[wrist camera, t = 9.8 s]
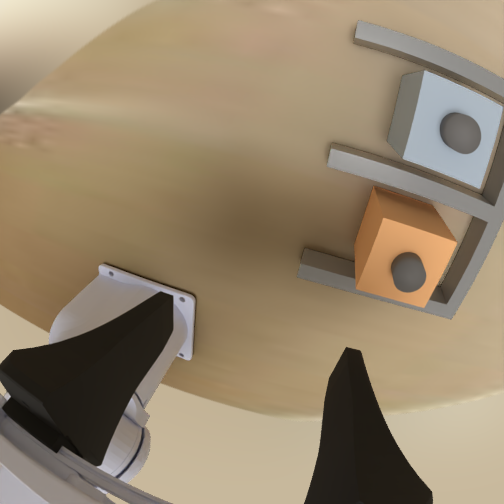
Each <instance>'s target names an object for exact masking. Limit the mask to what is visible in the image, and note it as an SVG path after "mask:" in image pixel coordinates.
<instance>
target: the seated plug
mask: <svg viewBox="0 0 504 504" xmlns="http://www.w3.org/2000/svg"><path fill="white" fill-rule="evenodd" d="M502 111H503V107H502V106H501V105H499V104H497V103H495V102H493V101H491V100H489V99H487V98H485V97H484V96H482V95H480V94H478V93H476V92H473V91H471V90H469V89H467V88H465V87H463V86H461V85H459V84H456V83H454V82H452V81H450V80H447V79H445V78H442V77H440V76H438V75H435V74H433V73H430V72H428V71H425V70H424V71H419V72H415V73H411V74H406V75H402V79H401V84H400V89H399V93H398V98H397V102H396V106H395V110H394V115H393V119H392V123H391V127H390V131H389V134H388V138H387V142H388V143H389V144H390V145H391V146H392V147H393V148H394V150H395V151H396V152H397V153H398V154H399V155H400V156H401V158H402V159H404V160H407V161H410V162H413V163H416V164H419V165H421V166H424V167H427V168H429V169H432V170H435V171H437V172H440V173H443V174H445V175H448V176H450V177H453V178H455V179H457V180H460V181H462V182H465V183H467V184H469V185H472V186H474V187H476V188H479V189H480V186H481V183H482V180H483V178H484V175H485V172H486V169H487V165H488V162H489V159H490V156H491V152H492V149H493V146H494V142H495V139H496V135H497V131H498V127H499V123H500V119H501V115H502Z"/></svg>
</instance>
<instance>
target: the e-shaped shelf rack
mask: <svg viewBox="0 0 504 504" xmlns="http://www.w3.org/2000/svg"><path fill="white" fill-rule="evenodd" d="M353 44H357V45H361V46H365V47H368V48H372V49H375V50H378V51H382V52H385V53H388V54H391V55H394V56H397V57H400V58H403V59H406V60H409V61H412V62H414V63H417V64H420V65H422V66H425V67H428V68H430V69H433V70H435V71H438V72H440V73H442V74H445V75H447V76H449V77H452V78H454V79H456V80H458V81H460V82H463V83H465V84H467V85H469V86H471V87H473V88H475V89H477V90H479V91H481V92H483V93H485V94H487V95H489V96H491V97H493V98H494V99H496V100H498V101H500V102H502V103H503V104H504V79H503V78H501V77H499V76H497V75H496V74H494V73H492V72H490V71H488V70H486V69H484V68H483V67H481V66H479V65H477V64H475V63H473V62H471V61H469V60H467V59H464V58H462V57H460V56H458V55H456V54H454V53H451V52H449V51H447V50H444V49H442V48H440V47H437V46H435V45H432V44H430V43H427V42H425V41H422V40H420V39H417V38H414V37H411V36H408V35H406V34H403V33H400V32H397V31H394V30H390V29H387V28H384V27H381V26H377V25H374V24H370V23H367V22H363V21H359V20H358V23H357V27H356V32H355V37H354V42H353ZM327 167H330V168H333V169H337V170H340V171H344V172H347V173H351V174H354V175H358V176H361V177H364V178H368V179H371V180H374V181H377V182H380V183H384V184H387V185H390V186H393V187H396V188H399V189H402V190H405V191H408V192H411V193H414V194H416V195H419V196H422V197H425V198H428V199H430V200H433V201H436V202H439V203H441V204H444V205H447V206H449V207H452V208H454V209H457V210H460V211H462V212H465V213H467V214H470V215H472V216H474V217H473V219H472V222H471V224H470V226H469V229H468V231H467V233H466V236H465V238H464V240H463V242H462V244H461V247H460V249H459V251H458V253H457V255H456V257H455V259H454V261H453V263H452V265H451V267H450V269H449V271H448V273H447V275H446V277H445V279H444V281H443V283H442V285H441V287H438V286H436V287H435V289H434V291H433V293H432V295H431V297H430V298H429V300H428V302H427V304H426V306H425V307H424V308H422V307H418V306H415V305H411V304H407V303H404V302H400V301H396V300H393V299H389V298H386V297H382V296H378V295H375V294H371V293H367V292H364V291H360V290H357V289H356V281H355V262H353V261H349V260H346V259H342V258H339V257H335V256H332V255H328V254H325V253H321V252H317V251H314V250H310V249H307V248H305V249H304V252H303V256H302V259H301V263H300V267H299V271H298V274H297V277H298V278H301V279H305V280H309V281H312V282H316V283H319V284H323V285H326V286H330V287H334V288H337V289H341V290H344V291H348V292H352V293H355V294H359V295H363V296H366V297H370V298H373V299H377V300H381V301H384V302H388V303H392V304H396V305H399V306H403V307H407V308H410V309H414V310H418V311H421V312H425V313H429V314H433V315H436V316H440V317H444V318H448V319H452V318H453V316H454V314H455V313H456V311H457V310H458V308H459V306H460V305H461V303H462V301H463V300H464V298H465V296H466V294H467V293H468V291H469V289H470V287H471V285H472V284H473V282H474V280H475V278H476V276H477V274H478V272H479V271H480V269H481V267H482V265H483V263H484V261H485V259H486V257H487V255H488V253H489V251H490V249H491V246H492V244H493V242H494V240H495V238H496V236H497V233H498V231H499V229H500V227H501V224H502V222H503V220H504V127H503V130H502V134H501V138H500V141H499V145H498V148H497V152H496V155H495V158H494V162H493V165H492V168H491V171H490V174H489V177H488V180H487V183H486V185H485V188H484V191H483V194H482V195H481V194H478V193H476V192H474V191H471V190H469V189H467V188H464V187H462V186H460V185H457V184H455V183H452V182H450V181H447V180H445V179H442V178H440V177H437V176H434V175H432V174H429V173H426V172H424V171H421V170H418V169H415V168H413V167H410V166H407V165H404V164H401V163H398V162H395V161H392V160H389V159H386V158H383V157H380V156H377V155H374V154H370V153H367V152H364V151H360V150H357V149H354V148H350V147H347V146H343V145H339V144H336V143H332V145H331V149H330V153H329V157H328V162H327Z"/></svg>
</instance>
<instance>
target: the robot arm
mask: <svg viewBox="0 0 504 504" xmlns="http://www.w3.org/2000/svg"><path fill="white" fill-rule="evenodd" d="M112 272H113V273H112ZM182 297H183V298H184V299H183V298H182ZM195 303H196V300H195V298H194V296H192V295H191V294H188V293H185V292H182V291H179V290H176V289H173V288H170V287H167V286H164V285H161V284H158V283H156V282H153V281H150V280H147V279H144V278H141V277H139V276H136V275H133V274H130V273H128V272H125V271H122V270H119V269H117V268H114V267H111V266H109V265H106V264H101V265H100V266H99V275H98V276H97V277H96V278H95V279H94V280H93V281H91V282H90V283H89V284H88V285H87V286H86V287H85V288H84V289H83V290H82V291H81V292H80V293H79V294H77V295H76V296H75V297H74V298H73V299H72V300H71V301H70V302H69V303H68V304H67V305H66V306H65V307H64V308H63V309H62V310H61V311H60V312H59V314H58V315H57V317H56V319H55V320H54V322H53V325H52V327H51V330H50V334H49V345H44V346H39V347H34V348H27V349H20V350H13V351H12V352H11V353H10V354H9V355H8V356H7V357H6V358H5V360H4V361H3V362H2V363H1V364H0V381H1V383H2V384H3V386H4V387H5V389H6V390H7V392H6V393H5V395H4V397H3V396H2V395H1V394H0V504H115V503H114V502H112V501H111V500H110V499H109V498H107V497H106V494H107V493H110V494H112V495H114V496H116V497H118V498H120V499H122V500H124V501H126V502H128V503H130V504H172V503H169V502H167V501H164V500H162V499H160V498H157V497H155V496H153V495H151V494H148V493H146V492H144V491H142V490H140V489H138V488H135V487H133V486H131V485H129V484H127V483H128V482H129V481H130V480H132V479H133V478H134V477H135V476H136V475H137V474H138V472H139V471H140V470H141V468H142V467H143V465H144V463H145V462H146V460H147V457H148V455H149V451H150V433H149V430H148V429H147V428H146V427H145V424H146V422H147V421H148V419H149V417H150V415H149V414H148V413H146V411H145V410H144V409H145V407H146V405H147V404H148V402H149V400H150V399H151V397H152V395H153V394H154V392H155V390H156V389H157V387H158V385H159V384H160V382H161V380H162V379H163V377H164V375H165V374H166V372H167V370H168V369H169V367H170V365H171V364H172V362H173V360H174V359H175V357H176V356H178V357H180V358H183V359H186V360H191V359H192V357H193V338H194V319H195ZM304 504H433V497H432V491H431V490H430V489H429V488H428V487H427V485H426V484H425V483H424V482H423V481H422V480H421V479H420V477H419V476H418V475H417V474H416V472H415V471H414V469H413V468H412V467H411V466H410V464H409V463H408V461H407V459H406V458H405V456H404V455H403V453H402V452H401V450H400V448H399V447H398V445H397V443H396V442H395V440H394V438H393V436H392V434H391V432H390V430H389V428H388V426H387V424H386V422H385V419H384V417H383V415H382V412H381V410H380V408H379V405H378V402H377V400H376V397H375V394H374V391H373V389H372V386H371V383H370V380H369V377H368V373H367V370H366V367H365V364H364V360H363V357H362V353H361V351H360V350H356V349H352V348H348V347H346V348H345V350H344V352H343V354H342V356H341V357H340V359H339V361H338V363H337V365H336V367H335V368H334V370H333V372H332V374H331V376H330V377H329V381H328V386H327V391H326V396H325V401H324V411H323V420H322V430H321V439H320V447H319V453H318V457H317V461H316V465H315V469H314V473H313V476H312V480H311V483H310V487H309V490H308V493H307V497H306V500H305V502H304Z"/></svg>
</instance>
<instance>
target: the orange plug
mask: <svg viewBox="0 0 504 504" xmlns="http://www.w3.org/2000/svg"><path fill="white" fill-rule="evenodd" d="M456 245H457V241H456V239H455V238H454V236H453V235H452V233H451V232H450V230H449V229H448V227H447V225H446V224H445V222H444V221H443V219H442V218H441V217H440V215H439V214H438V212H437V211H436V209H435V208H434V206H433V205H430V204H427V203H424V202H421V201H419V200H416V199H413V198H410V197H407V196H404V195H401V194H398V193H395V192H392V191H389V190H386V189H383V188H380V187H377V186H373V189H372V192H371V195H370V198H369V202H368V205H367V208H366V211H365V214H364V217H363V220H362V223H361V226H360V229H359V232H358V235H357V238H356V240H355V243H354V250H355V281H356V289H357V290H360V291H364V292H367V293H371V294H375V295H378V296H382V297H386V298H389V299H393V300H396V301H400V302H404V303H407V304H411V305H415V306H418V307H422V308H424V307H425V306H426V304H427V302H428V300H429V298H430V297H431V295H432V293H433V291H434V289H435V287H436V285H437V284H438V282H439V280H440V278H441V276H442V274H443V272H444V270H445V268H446V266H447V264H448V262H449V260H450V258H451V255H452V253H453V251H454V249H455V247H456Z"/></svg>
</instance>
